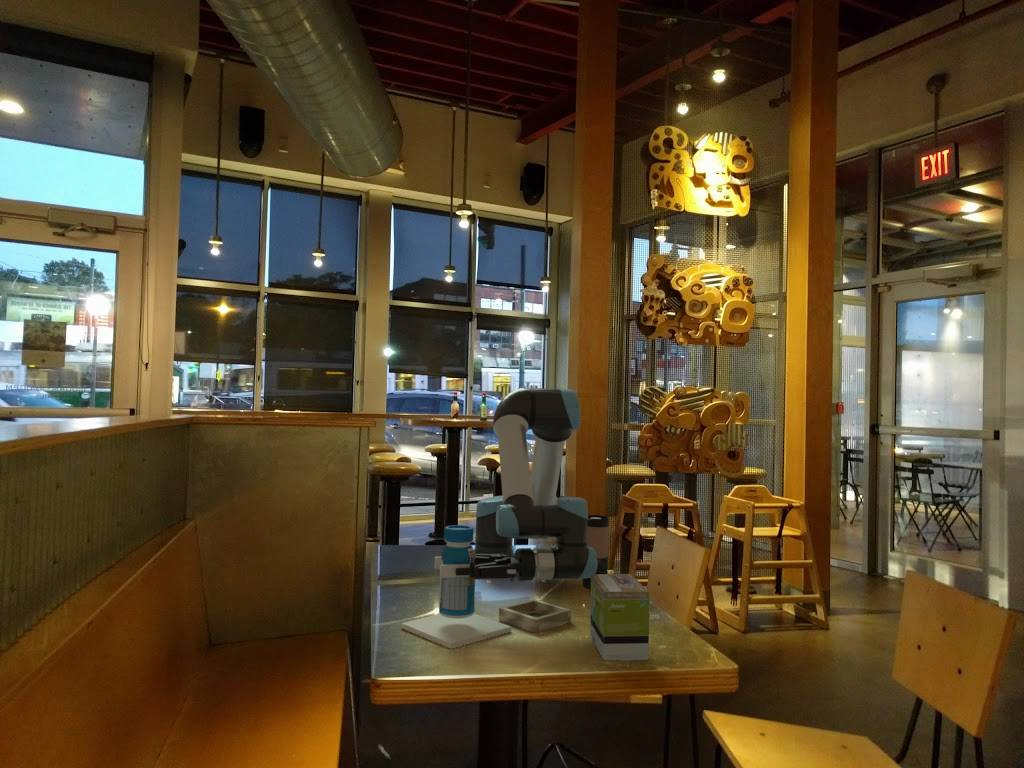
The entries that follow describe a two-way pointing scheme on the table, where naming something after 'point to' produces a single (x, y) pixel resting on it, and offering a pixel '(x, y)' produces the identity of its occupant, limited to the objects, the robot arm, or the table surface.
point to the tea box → (619, 617)
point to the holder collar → (519, 617)
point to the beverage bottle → (457, 590)
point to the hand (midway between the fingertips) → (437, 566)
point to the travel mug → (598, 543)
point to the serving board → (456, 629)
